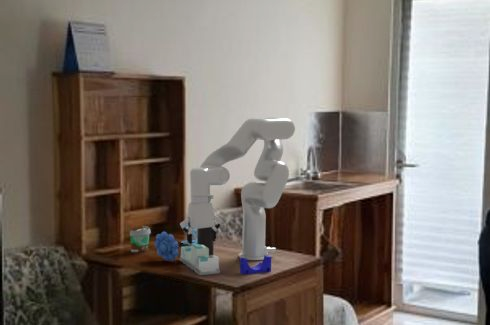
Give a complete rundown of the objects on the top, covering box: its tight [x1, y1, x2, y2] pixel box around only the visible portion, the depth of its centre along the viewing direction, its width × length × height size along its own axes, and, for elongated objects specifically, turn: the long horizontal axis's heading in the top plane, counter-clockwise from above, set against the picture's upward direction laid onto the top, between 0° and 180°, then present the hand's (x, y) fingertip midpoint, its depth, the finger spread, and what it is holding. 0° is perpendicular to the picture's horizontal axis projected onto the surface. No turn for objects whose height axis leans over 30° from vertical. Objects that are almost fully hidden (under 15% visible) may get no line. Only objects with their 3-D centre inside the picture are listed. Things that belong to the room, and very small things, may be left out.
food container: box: [129, 225, 152, 254], centre depth 307 cm, size 12×6×10 cm, turn 161°
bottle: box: [196, 227, 215, 256], centre depth 299 cm, size 7×7×20 cm
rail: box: [179, 245, 220, 276], centre depth 283 cm, size 8×24×6 cm, turn 23°
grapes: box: [153, 231, 180, 262], centre depth 291 cm, size 12×7×12 cm, turn 64°
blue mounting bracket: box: [239, 254, 272, 276], centre depth 277 cm, size 12×4×6 cm, turn 117°
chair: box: [180, 224, 198, 246], centre depth 326 cm, size 8×8×12 cm
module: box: [191, 244, 209, 266], centre depth 283 cm, size 5×7×8 cm
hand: (201, 242), depth 283 cm, fingers open, 9 cm apart
